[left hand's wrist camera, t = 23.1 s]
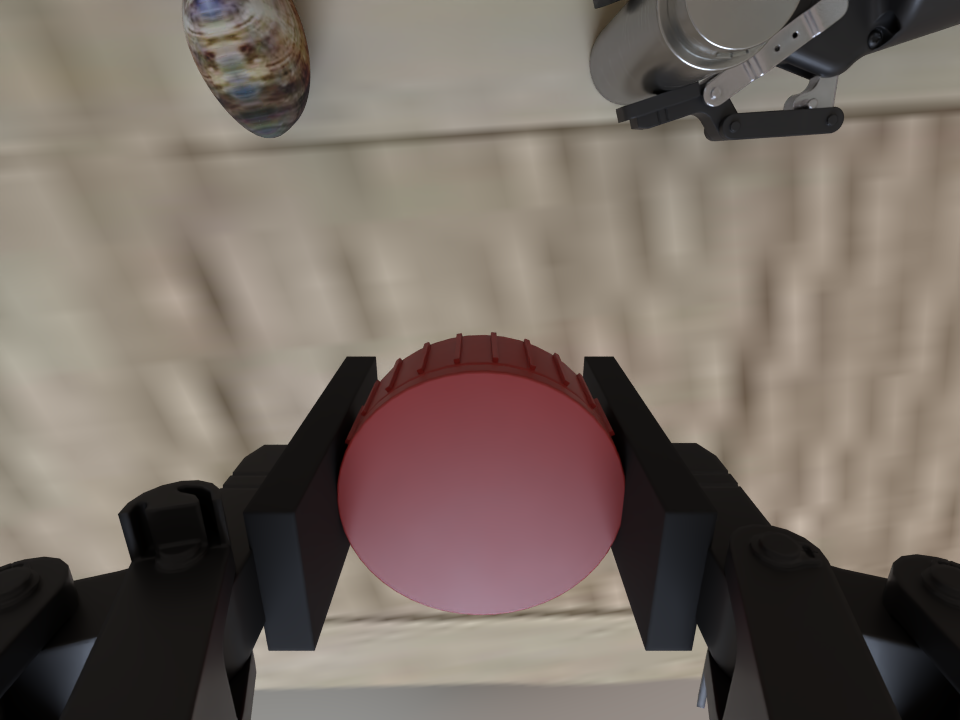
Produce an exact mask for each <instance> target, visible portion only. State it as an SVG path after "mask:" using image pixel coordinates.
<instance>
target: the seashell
mask: <svg viewBox="0 0 960 720" xmlns="http://www.w3.org/2000/svg"><path fill="white" fill-rule="evenodd" d="M182 19H183V26H184V32H185V35H186V39H187V42H188V46H189V49H190V51H191V54H192V56H193V59H194V61H195V63H196V65H197V67H198V69H199V71H200V73H201V75H202V77H203V79H204V80H205V82H206V84H207V85H208V87H209V88H210V90H211V91H212V93H213V94H214V96H215V97H216V98H217V100H218V101H219V102H220V103H221V105H222V106H223V107H224V108H225V109H226V111H227V112H228V113H229V114H230V115H231V116H232V117H233V118H234V119H235V120H236V121H237V122H238V123H239V124H241V125H242V126H243V127H244V128H246V129H247V130H249V131H250V132H252V133H254V134H256V135H257V136H261V137H264V138H275V137H278V136H281V135H282V134H284V133H285V132H286V131H288V130H289V129H290V128H291V127H292V126H293V125H294V124H295V122H296V121H297V120H298V119H299V117H300V116H301V114H302V112H303V110H304V108H305V105H306V102H307V99H308V94H309V88H310V60H309V52H308V46H307V42H306V37H305V33H304V30H303V27H302V24H301V21H300V18H299V15H298V13H297V10H296V8H295V6H294V4H293V1H292V0H183V3H182Z"/></svg>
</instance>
